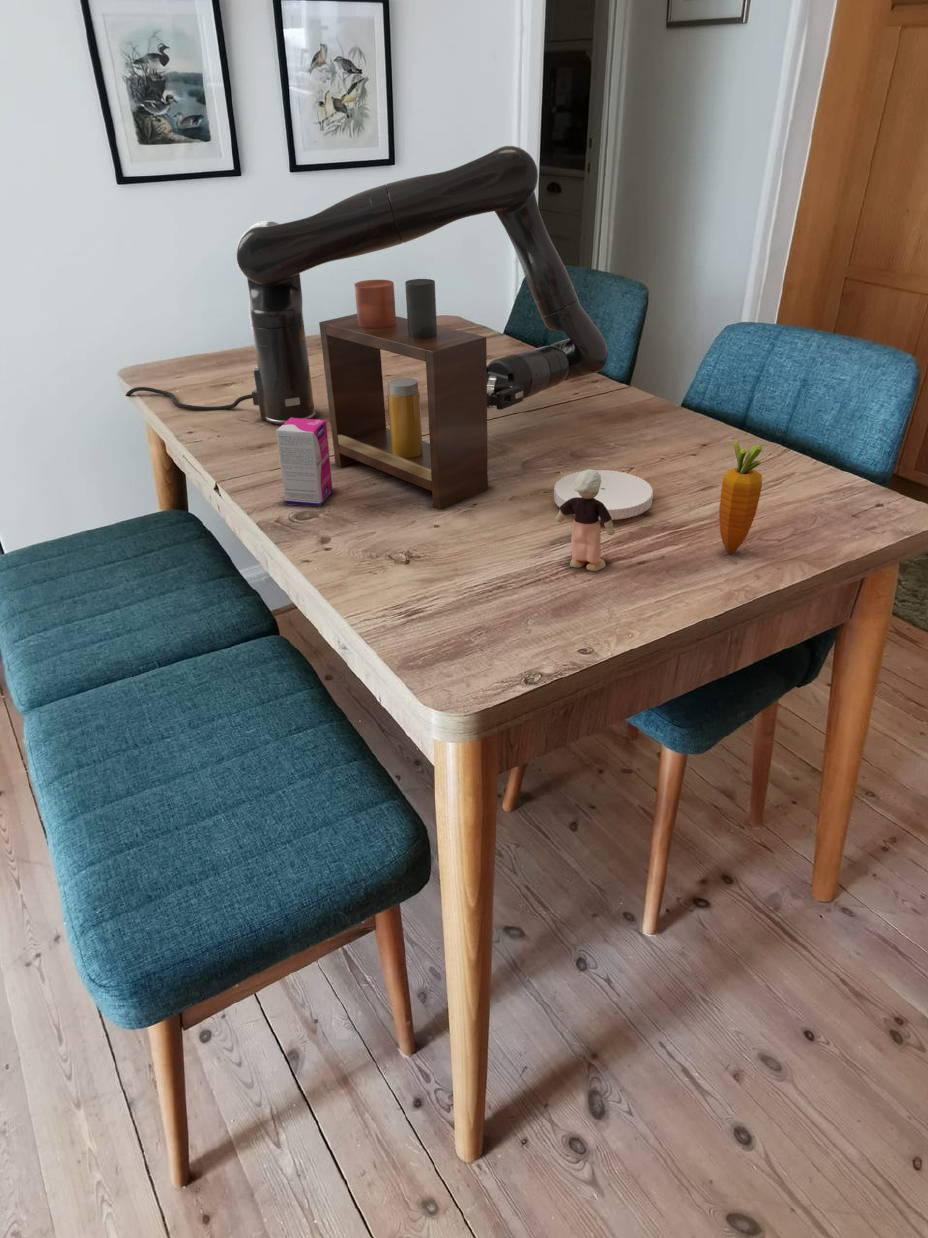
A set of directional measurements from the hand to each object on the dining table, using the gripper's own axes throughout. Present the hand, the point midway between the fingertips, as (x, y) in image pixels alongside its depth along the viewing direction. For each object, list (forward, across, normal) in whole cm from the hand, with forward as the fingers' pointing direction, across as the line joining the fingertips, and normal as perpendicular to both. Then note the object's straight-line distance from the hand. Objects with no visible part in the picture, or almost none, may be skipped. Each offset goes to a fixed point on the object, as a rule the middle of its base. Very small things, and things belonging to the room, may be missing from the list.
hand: (448, 399), depth 131 cm
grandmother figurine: (+13, +38, +10) cm, 41 cm away
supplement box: (+25, -5, +10) cm, 27 cm away
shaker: (+9, 0, +6) cm, 11 cm away
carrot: (-2, +50, +10) cm, 51 cm away
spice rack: (+9, 0, +10) cm, 14 cm away
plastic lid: (-3, +29, +10) cm, 31 cm away
